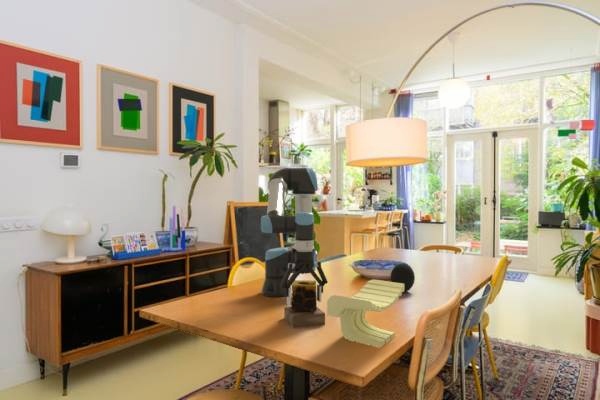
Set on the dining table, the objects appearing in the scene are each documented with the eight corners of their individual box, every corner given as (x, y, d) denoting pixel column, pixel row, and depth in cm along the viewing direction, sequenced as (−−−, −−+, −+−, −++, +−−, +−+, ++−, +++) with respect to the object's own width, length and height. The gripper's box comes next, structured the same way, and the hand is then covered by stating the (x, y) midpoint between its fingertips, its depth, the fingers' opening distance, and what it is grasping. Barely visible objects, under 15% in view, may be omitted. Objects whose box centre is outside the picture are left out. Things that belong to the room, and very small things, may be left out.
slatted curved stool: (366, 322, 161) (366, 278, 161) (404, 330, 152) (404, 283, 151) (326, 345, 137) (327, 293, 136) (369, 356, 127) (369, 301, 127)
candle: (316, 311, 157) (316, 286, 157) (290, 310, 157) (291, 285, 157) (316, 304, 167) (317, 280, 167) (292, 303, 167) (293, 279, 167)
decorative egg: (390, 288, 218) (390, 261, 217) (413, 289, 215) (413, 261, 215) (390, 294, 205) (390, 265, 205) (415, 295, 203) (415, 266, 203)
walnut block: (284, 319, 166) (284, 307, 166) (313, 316, 170) (313, 304, 170) (293, 329, 153) (293, 316, 153) (325, 325, 158) (325, 313, 157)
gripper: (278, 253, 153) (278, 308, 153) (335, 250, 162) (335, 302, 163) (272, 250, 160) (272, 303, 160) (327, 247, 169) (327, 297, 170)
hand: (304, 302), depth 161 cm, fingers open, 13 cm apart
